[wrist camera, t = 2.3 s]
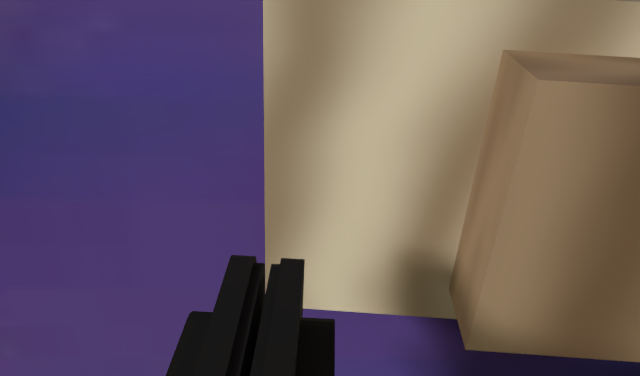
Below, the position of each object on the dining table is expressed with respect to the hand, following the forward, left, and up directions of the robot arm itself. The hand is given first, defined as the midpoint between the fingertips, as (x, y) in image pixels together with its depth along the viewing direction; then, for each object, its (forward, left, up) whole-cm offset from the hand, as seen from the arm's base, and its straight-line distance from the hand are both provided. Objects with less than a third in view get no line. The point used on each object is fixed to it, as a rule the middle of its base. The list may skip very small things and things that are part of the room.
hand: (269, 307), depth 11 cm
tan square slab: (-10, 0, -6) cm, 12 cm away
